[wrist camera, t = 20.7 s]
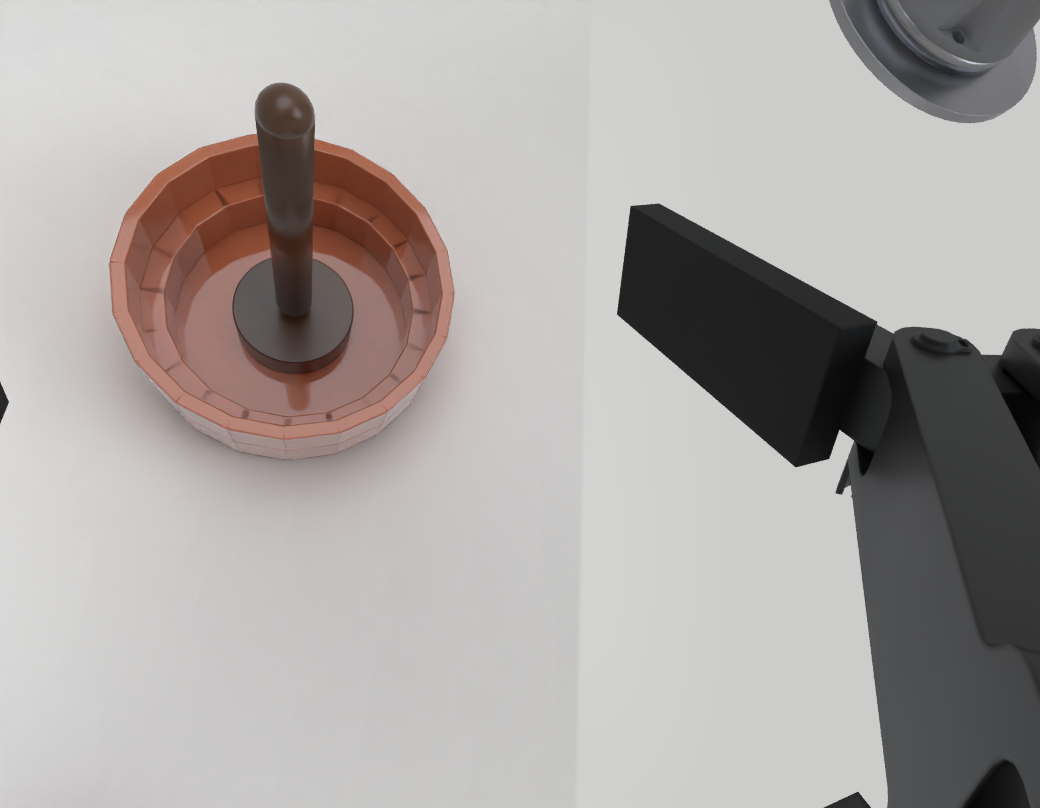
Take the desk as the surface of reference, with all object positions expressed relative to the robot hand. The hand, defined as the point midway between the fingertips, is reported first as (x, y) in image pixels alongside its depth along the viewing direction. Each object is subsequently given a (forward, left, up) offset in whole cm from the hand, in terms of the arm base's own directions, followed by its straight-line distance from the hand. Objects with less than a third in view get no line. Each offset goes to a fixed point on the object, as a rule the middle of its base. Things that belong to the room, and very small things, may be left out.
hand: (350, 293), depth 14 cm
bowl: (-2, -7, -22) cm, 23 cm away
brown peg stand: (-2, -7, -21) cm, 22 cm away
